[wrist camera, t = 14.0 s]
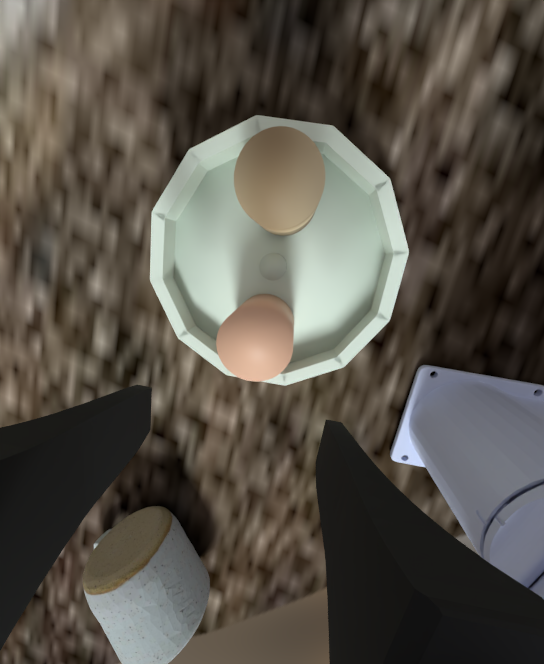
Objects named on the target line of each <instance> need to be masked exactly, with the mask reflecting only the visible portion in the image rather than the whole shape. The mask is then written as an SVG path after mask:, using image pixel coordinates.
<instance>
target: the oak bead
mask: <svg viewBox="0 0 544 664" xmlns="http://www.w3.org/2000/svg"><path fill="white" fill-rule="evenodd" d="M324 186H325V166H324V162H323V158H322V156H321V153H320V151H319V149H318V147H317V146H316V145H315V143H314V142H313V141H312V140H311V139H310V138H309V137H308V136H307V135H306V134H304V133H303V132H301V131H299V130H297V129H294V128H291V127H286V126H276V127H271V128H267V129H265V130H262V131H261V132H259V133H257V134H256V135H254V136H253V137H252V138H251V139H250V140H249V141H248V142H247V143H246V144H245V146H244V147H243V149H242V150H241V152H240V154H239V156H238V159H237V162H236V165H235V170H234V187H235V193H236V196H237V199H238V201H239V203H240V205H241V207H242V208H243V210H244V211H245V212H246V214H247V215H248V216H249V217H250V218H251V219H253V220H254V221H255V222H256V223H258V224H259V225H260V226H261V227H263V228H264V229H265V230H266V231H268V232H270V233H272V234H275V235H279V236H288V235H292V234H295V233H297V232H299V231H301V230H302V229H303V228H305V227H306V226H307V225H308V224H309V222H310V221H311V219H312V217H313V216H314V213H315V211H316V208H317V206H318V204H319V201H320V199H321V196H322V194H323V190H324Z"/></svg>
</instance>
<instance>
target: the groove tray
mask: <svg viewBox="0 0 544 664" xmlns="http://www.w3.org/2000/svg"><path fill="white" fill-rule="evenodd" d="M276 126H286V127H291V128H294V129H297V130H299V131H301V132H303V133H304V134H306V135H307V136H308V137H309V138H310V139H311V140H312V141H313V142H314V143H315V145H316V146H317V147H318V149H319V151H320V153H321V156H322V158H323V162H324V166H325V186H324V190H323V194H322V196H321V199H320V201H319V204H318V206H317V208H316V211H315V213H314V216H313V217H312V219H311V221H310V222H309V224H308V225H307V226H306V227H305V228H303V229H302V230H301V231H299V232H297V233H295V234H292V235H288V236H279V235H275V234H272V233H270V232H268V231H266V230H265V229H264V228H263V227H261V226H260V225H259V224H258V223H256V222H255V221H254V220H253V219H251V218H250V217H249V216H248V215H247V214H246V212H245V211H244V210H243V208H242V207H241V205H240V203H239V201H238V199H237V196H236V193H235V187H234V170H235V165H236V162H237V159H238V156H239V154H240V152H241V150H242V149H243V147H244V146H245V144H246V143H247V142H248V141H249V140H250V139H251V138H252V137H253V136H254V135H256V134H257V133H259V132H261V131H262V130H265V129H267V128H271V127H276ZM408 254H409V249H408V246H407V242H406V238H405V234H404V230H403V226H402V222H401V218H400V215H399V211H398V207H397V203H396V199H395V195H394V191H393V187H392V184H391V180H390V178H389V177H388V176H387V175H386V174H385V173H384V172H383V171H382V170H380V169H379V168H378V167H377V166H376V165H375V164H374V163H373V162H372V161H371V160H370V159H369V158H368V157H366V156H365V155H364V154H363V153H362V152H361V151H360V150H359V149H358V148H357V147H356V146H355V145H353V144H352V143H351V142H350V141H349V140H348V139H347V138H346V137H345V136H344V135H343V134H342V133H341V132H339V131H338V130H337V129H336V128H335V127H334V126H333V125H325V124H318V123H311V122H304V121H296V120H289V119H282V118H275V117H268V116H260V115H257V116H256V115H255V116H253V117H251V118H250V119H248V120H246V121H244V122H242V123H240V124H238V125H236V126H234V127H232V128H230V129H228V130H226V131H224V132H222V133H220V134H218V135H216V136H214V137H212V138H210V139H208V140H206V141H204V142H202V143H200V144H198V145H196V146H194V147H193V148H191V149H189V150H188V152H187V154H186V155H185V157H184V159H183V160H182V162H181V164H180V165H179V167H178V169H177V170H176V172H175V174H174V175H173V177H172V179H171V180H170V182H169V184H168V185H167V187H166V189H165V190H164V192H163V194H162V196H161V197H160V199H159V201H158V202H157V204H156V206H155V207H154V209H153V211H152V223H151V261H150V282H151V284H152V286H153V288H154V290H155V292H156V294H157V296H158V298H159V300H160V302H161V304H162V306H163V308H164V310H165V312H166V314H167V317H168V319H169V321H170V323H171V325H172V327H173V329H174V331H175V333H176V335H177V337H178V339H180V340H181V341H182V342H184V343H185V344H186V345H188V346H189V347H190V348H192V349H193V350H194V351H196V352H197V353H198V354H199V355H201V356H202V357H203V358H205V359H206V360H207V361H209V362H210V363H211V364H213V365H214V366H215V367H217V368H218V369H219V370H220V371H222V372H223V373H224V374H226V375H229V376H235V375H234V374H232V373H231V372H230V371H229V370H228V369H227V368H226V367H225V366H224V365H223V363H222V362H221V360H220V358H219V355H218V352H217V347H216V339H217V334H218V331H219V328H220V326H221V325H222V323H223V322H224V321H225V320H226V318H227V317H229V316H230V315H231V314H232V313H233V312H234V311H235V310H236V309H237V308H238V307H239V306H241V305H242V304H243V303H244V302H245V301H246V300H247V299H249V298H250V297H252V296H255V295H258V294H271V295H274V296H277V297H279V298H281V299H282V300H283V301H284V302H285V303H287V305H288V306H289V307H290V309H291V311H292V313H293V317H294V339H293V353H292V357H291V360H290V362H289V364H288V365H287V367H286V368H285V369H284V370H283V371H282V372H281V373H280V374H279V375H277V376H275V377H274V378H271V379H269V380H265V381H263V382H268V383H274V384H279V385H289V384H292V383H295V382H298V381H301V380H305V379H308V378H311V377H314V376H317V375H321V374H324V373H327V372H330V371H333V370H337V369H340V368H343V367H344V366H345V365H346V364H347V363H348V362H349V361H350V360H351V359H352V358H353V357H354V356H355V355H356V354H357V353H358V352H359V351H360V350H361V349H362V348H363V347H364V346H365V345H366V344H367V343H368V342H369V341H370V340H371V339H372V338H373V337H374V336H375V335H376V334H377V333H378V332H379V331H380V330H381V329H382V328H383V327H384V326H385V325H386V324H387V323H388V322H389V321H390V318H391V314H392V311H393V307H394V304H395V300H396V297H397V293H398V290H399V286H400V283H401V279H402V276H403V272H404V269H405V265H406V261H407V258H408ZM235 377H237V376H235Z"/></svg>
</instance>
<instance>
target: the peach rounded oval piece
mask: <svg viewBox="0 0 544 664" xmlns="http://www.w3.org/2000/svg"><path fill="white" fill-rule="evenodd" d="M293 339H294V317H293V313H292V311H291V309H290V307H289V306H288V305H287V303H285V302H284V301H283V300H282V299H281V298H279V297H277V296H274V295H271V294H258V295H255V296H252V297H250V298H249V299H247V300H246V301H245V302H244V303H243V304H242V305H241V306H239V307H238V308H237V309H236V310H235V311H234V312H233V313H232V314H231V315H230V316H229V317H227V318H226V320H225V321H224V322H223V323H222V325H221V326H220V328H219V331H218V334H217V339H216V347H217V352H218V355H219V358H220V360H221V362H222V363H223V365H224V366H225V367H226V368H227V369H228V370H229V371H230V372H231V373H232V374H234V375H235V376H237V377H239V378H241V379H244V380H248V381H265V380H269V379H271V378H274V377H275V376H277V375H279V374H280V373H281V372H282V371H283V370H284V369H285V368H286V367H287V365H288V364H289V362H290V360H291V357H292V353H293Z"/></svg>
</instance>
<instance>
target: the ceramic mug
mask: <svg viewBox="0 0 544 664" xmlns="http://www.w3.org/2000/svg"><path fill="white" fill-rule="evenodd" d="M83 587H84V591H85V595H86V598H87V601H88V604H89V606H90V609H91V610H92V612H93V614H94V615H95V617H96V618H97V620H98V621H99V622H100V624H101V626H102V628H103V630H104V631H105V633H106V635H107V637H108V639H109V641H110V643H111V644H112V646H113V648H114V650H115V652H116V654H117V656H118V658H119V660H120V661H121V663H122V664H168V663H169V662H170V661H171V660H173V659H174V658H175V657H176V656H177V655H178V653H179V652H180V651H181V650H182V649H183V648H184V647H185V645H186V644H187V643H188V641H189V640H190V639H191V637H192V636H193V634H194V633H195V631H196V629H197V627H198V625H199V624H200V621H201V619H202V617H203V614H204V612H205V609H206V606H207V602H208V598H209V590H210V580H209V575H208V572H207V570H206V568H205V566H204V564H203V563H202V561H201V559H200V558H199V556H198V554H197V553H196V551H195V549H194V547H193V545H192V544H191V542H190V541H189V539H188V538H187V536H186V534H185V532H184V530H183V528H182V527H181V525H180V523H179V521H178V520H177V519H176V517H175V516H174V515H173V514H172V513H171V512H170V511H169V510H168V509H167V508H165V507H161V506H151V507H146V508H144V509H141V510H139V511H136V512H134V513H133V514H131V515H129V516H128V517H126V518H125V519H123V520H122V521H121V522H120V523H118V524H117V525H116V526H115V527H114V528H113V529H109V530H107V531H106V532H105V533H104V534H103V535H102V536H101V537H100V538H99V539H98V540H97V541H96V542H95V543H94V551H93V552H92V554H91V556H90V557H89V560H88V562H87V564H86V566H85V569H84V573H83Z"/></svg>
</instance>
